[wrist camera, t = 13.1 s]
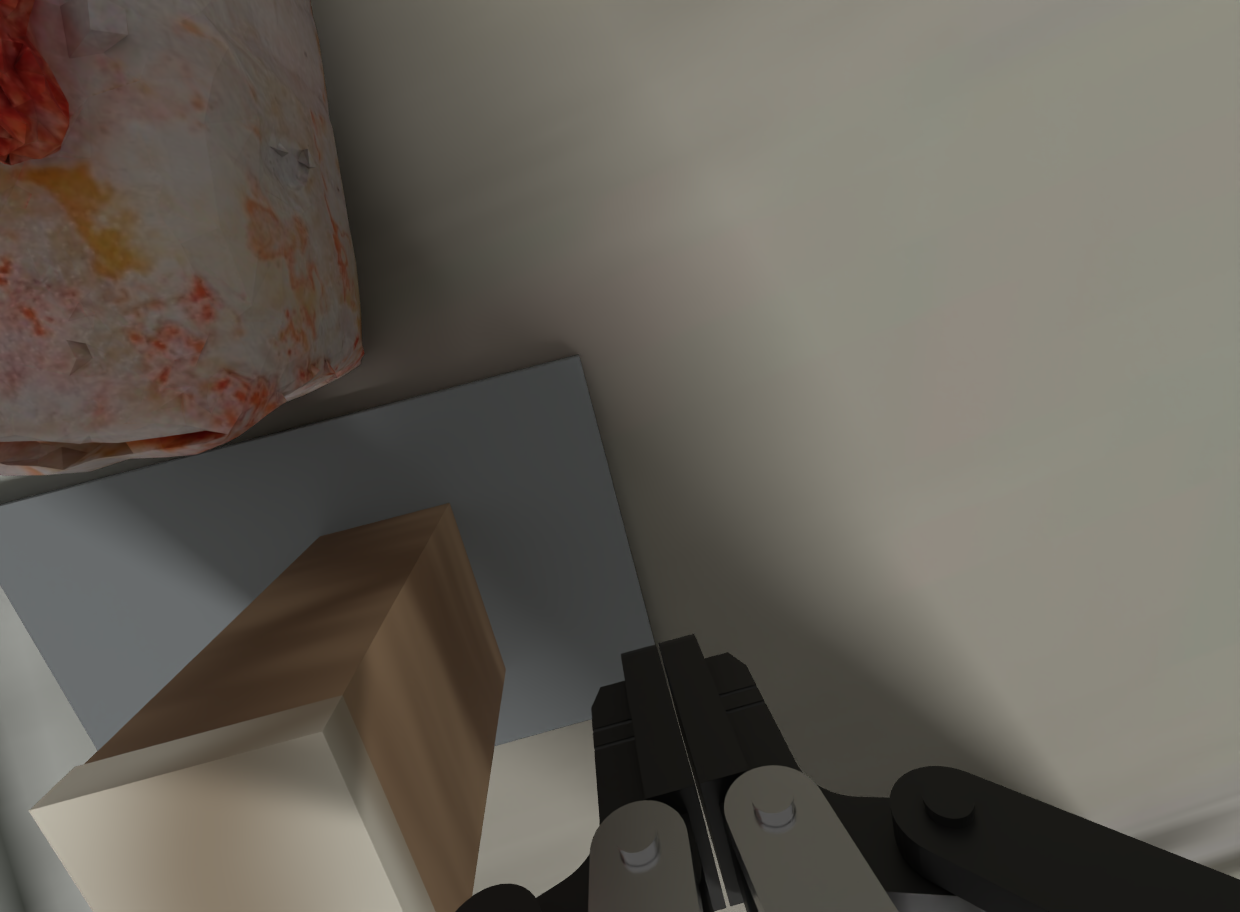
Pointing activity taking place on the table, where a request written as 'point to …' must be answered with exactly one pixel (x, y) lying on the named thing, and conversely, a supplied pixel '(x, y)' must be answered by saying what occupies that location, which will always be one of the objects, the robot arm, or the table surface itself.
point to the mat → (331, 502)
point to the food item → (164, 227)
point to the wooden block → (306, 745)
